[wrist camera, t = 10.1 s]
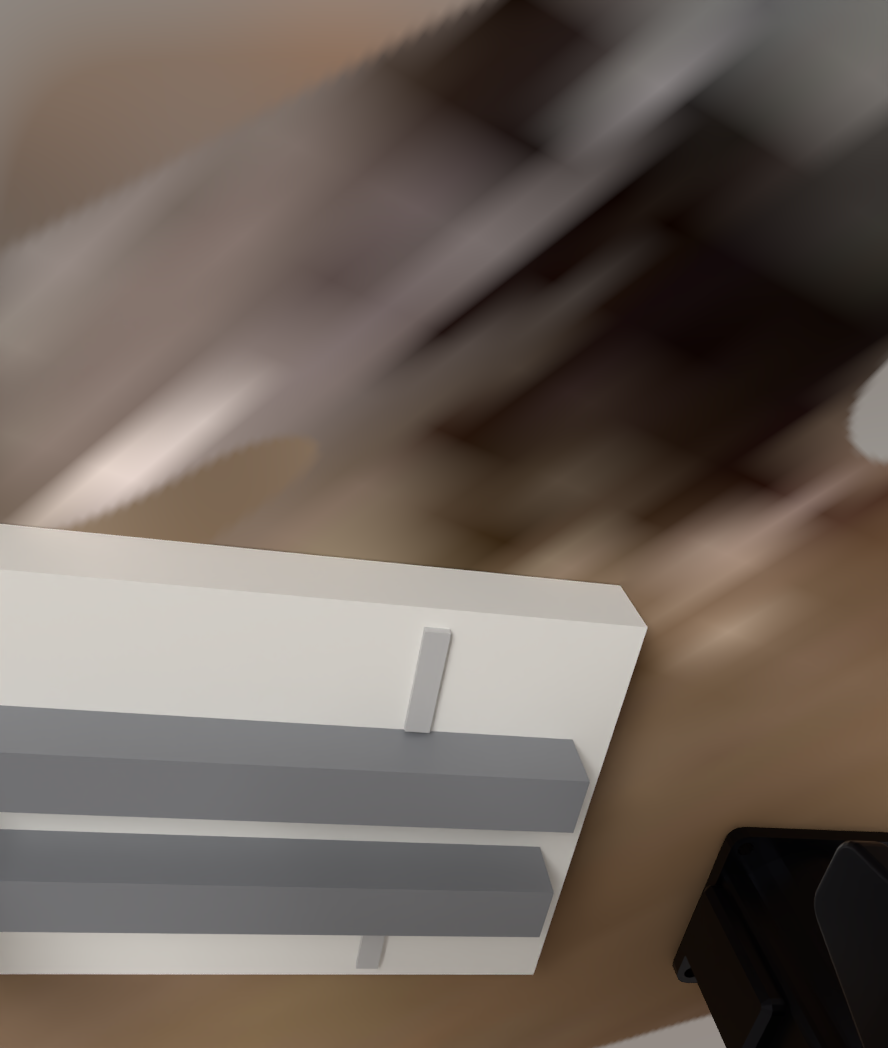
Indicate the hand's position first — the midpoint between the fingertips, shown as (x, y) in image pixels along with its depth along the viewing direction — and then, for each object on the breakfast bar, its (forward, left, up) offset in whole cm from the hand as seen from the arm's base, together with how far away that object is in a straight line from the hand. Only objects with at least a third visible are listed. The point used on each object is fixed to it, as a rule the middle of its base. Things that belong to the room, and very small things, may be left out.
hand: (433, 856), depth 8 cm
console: (+5, +9, -12) cm, 16 cm away
